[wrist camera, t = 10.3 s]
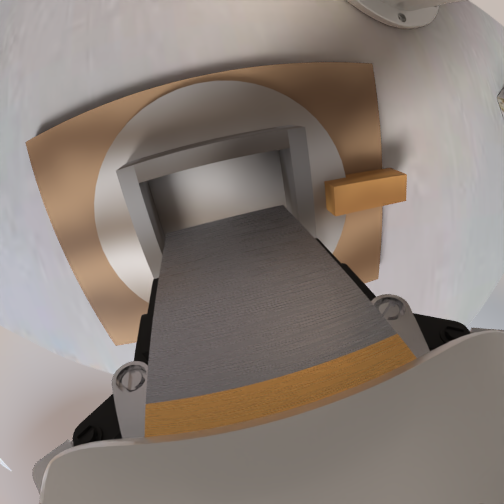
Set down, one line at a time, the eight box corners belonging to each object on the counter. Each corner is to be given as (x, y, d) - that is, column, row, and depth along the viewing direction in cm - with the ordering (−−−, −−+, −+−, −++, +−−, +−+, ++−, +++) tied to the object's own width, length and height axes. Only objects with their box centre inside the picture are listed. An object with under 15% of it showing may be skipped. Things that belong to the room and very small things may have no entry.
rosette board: (33, 139, 14) (1, 149, 10) (371, 65, 16) (407, 61, 12) (117, 336, 23) (110, 371, 19) (378, 269, 25) (403, 294, 21)
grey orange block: (166, 233, 11) (144, 449, 4) (282, 204, 12) (424, 367, 4) (198, 322, 14) (221, 500, 6) (294, 297, 14) (376, 454, 6)
